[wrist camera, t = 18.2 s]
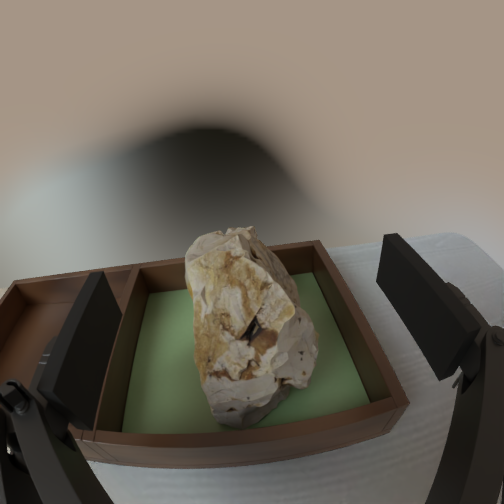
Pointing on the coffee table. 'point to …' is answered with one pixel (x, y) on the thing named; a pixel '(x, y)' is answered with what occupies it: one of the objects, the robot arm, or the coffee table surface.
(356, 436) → the divided wooden tray
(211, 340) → the rock
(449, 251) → the coffee table surface
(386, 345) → the coffee table surface
